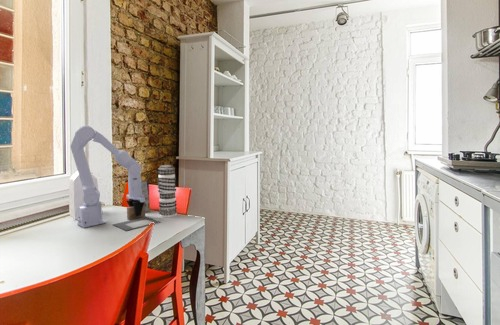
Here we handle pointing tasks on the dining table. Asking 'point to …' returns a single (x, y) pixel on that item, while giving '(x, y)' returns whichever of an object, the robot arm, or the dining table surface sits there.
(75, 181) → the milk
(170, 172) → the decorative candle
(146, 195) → the coffee box
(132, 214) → the walnut slab
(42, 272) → the dining table surface
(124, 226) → the charcoal mat
